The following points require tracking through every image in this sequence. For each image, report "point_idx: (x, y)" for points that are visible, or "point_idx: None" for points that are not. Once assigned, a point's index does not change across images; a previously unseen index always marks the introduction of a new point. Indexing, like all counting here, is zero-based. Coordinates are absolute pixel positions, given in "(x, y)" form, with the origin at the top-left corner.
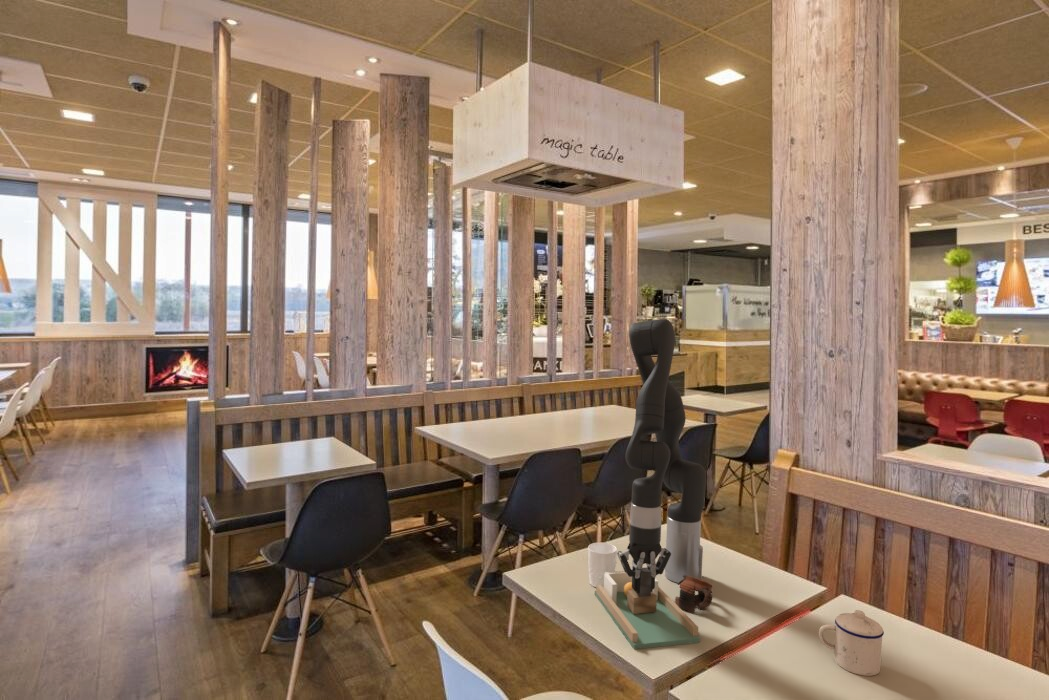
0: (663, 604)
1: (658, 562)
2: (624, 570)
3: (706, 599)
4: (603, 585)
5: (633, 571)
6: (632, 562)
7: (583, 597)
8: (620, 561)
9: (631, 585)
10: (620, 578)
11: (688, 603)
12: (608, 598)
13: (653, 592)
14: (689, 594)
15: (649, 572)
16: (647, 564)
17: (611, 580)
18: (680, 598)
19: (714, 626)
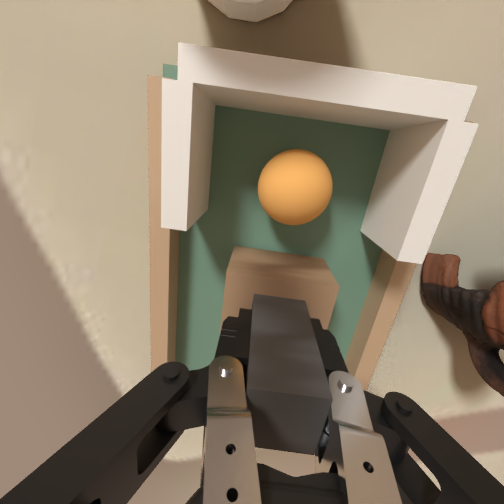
0: (375, 267)
1: (436, 468)
2: (149, 380)
3: (497, 391)
4: (229, 12)
5: (198, 420)
6: (207, 427)
7: (111, 80)
8: (71, 440)
9: (285, 209)
10: (277, 102)
11: (450, 316)
12: (158, 225)
13: (329, 320)
14: (484, 329)
15: (299, 452)
16: (329, 449)
17: (175, 178)
18: (448, 292)
19: (428, 381)
